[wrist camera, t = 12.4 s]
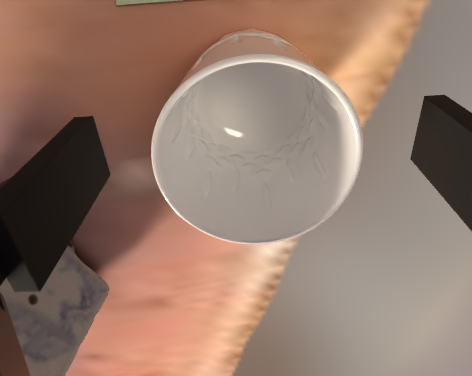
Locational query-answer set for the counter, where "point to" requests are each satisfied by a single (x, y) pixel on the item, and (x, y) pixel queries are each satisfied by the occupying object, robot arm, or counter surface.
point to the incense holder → (56, 314)
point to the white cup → (256, 142)
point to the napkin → (139, 1)
